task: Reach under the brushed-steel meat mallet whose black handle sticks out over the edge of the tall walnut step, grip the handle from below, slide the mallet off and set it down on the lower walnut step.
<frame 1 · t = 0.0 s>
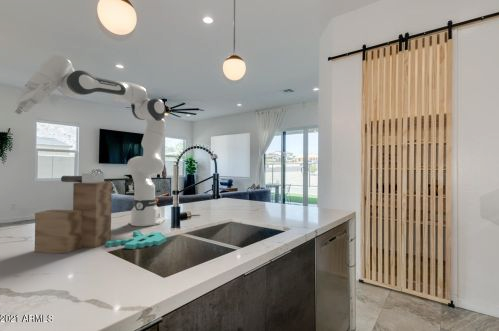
hand: (20, 112, 104), 54 cm above the counter, tool tilted 30°, fingers open, 8 cm apart
alien figure: (141, 243, 115), on the counter
step stand: (75, 245, 108), on the counter
mallet: (93, 182, 111), point 26 cm above the counter, touching step stand
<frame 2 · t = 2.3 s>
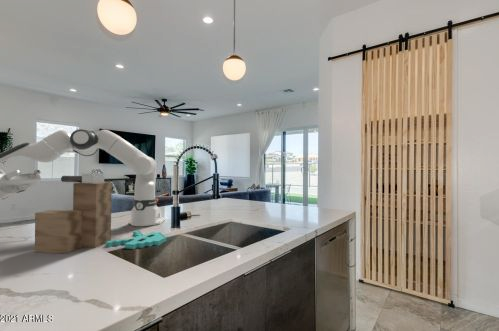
hand: (29, 171, 114), 30 cm above the counter, tool pointing upward, fingers open, 8 cm apart
nothing on the counter moved.
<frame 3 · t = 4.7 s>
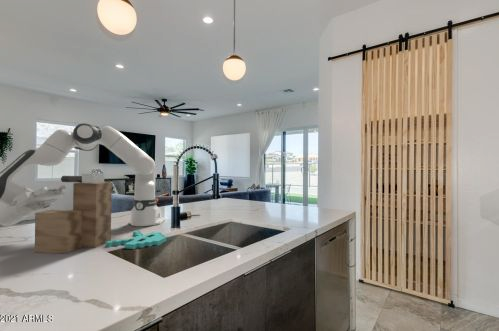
hand: (55, 187, 113), 24 cm above the counter, tool pointing upward, fingers open, 8 cm apart
nothing on the counter moved.
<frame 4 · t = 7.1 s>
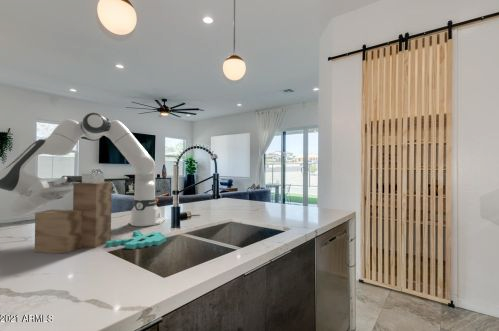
hand: (70, 178, 112), 28 cm above the counter, tool pointing upward, fingers closed on mallet, 3 cm apart
mallet: (93, 182, 111), point 26 cm above the counter, touching gripper, step stand
everything else where it was.
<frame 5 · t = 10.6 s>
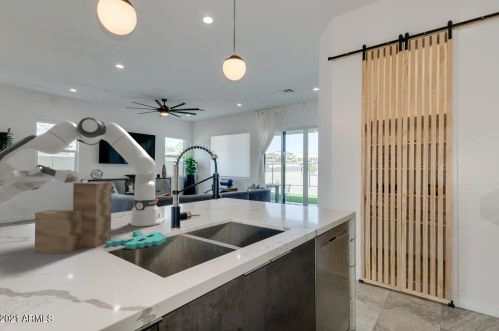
hand: (44, 168, 111), 32 cm above the counter, tool pointing upward, fingers closed on mallet, 3 cm apart
mallet: (66, 180, 110), point 27 cm above the counter, tilted 16°, touching gripper
everything else where it was.
when the fingers open (19 cm above the counter, at t = 14.1 s): mallet stays where it is, resting on step stand.
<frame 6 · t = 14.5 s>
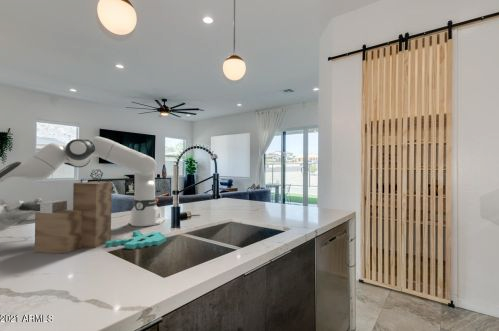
hand: (31, 200, 104), 19 cm above the counter, tool pointing upward, fingers open, 6 cm apart
mallet: (53, 211, 103), point 15 cm above the counter, touching step stand
everything else where it was.
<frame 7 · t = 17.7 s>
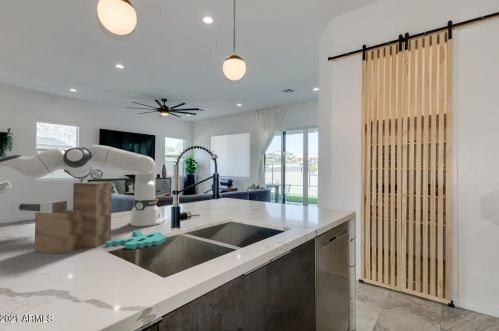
nothing on the counter moved.
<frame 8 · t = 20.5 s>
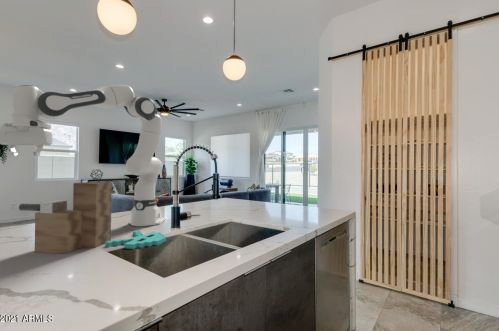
hand: (25, 155, 111), 37 cm above the counter, tool pointing down, fingers open, 8 cm apart
nothing on the counter moved.
at the end: mallet inside the target area (0.8 cm from its centre), point 15.0 cm above the counter; the gripper is holding nothing; mallet tilted 0° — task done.
